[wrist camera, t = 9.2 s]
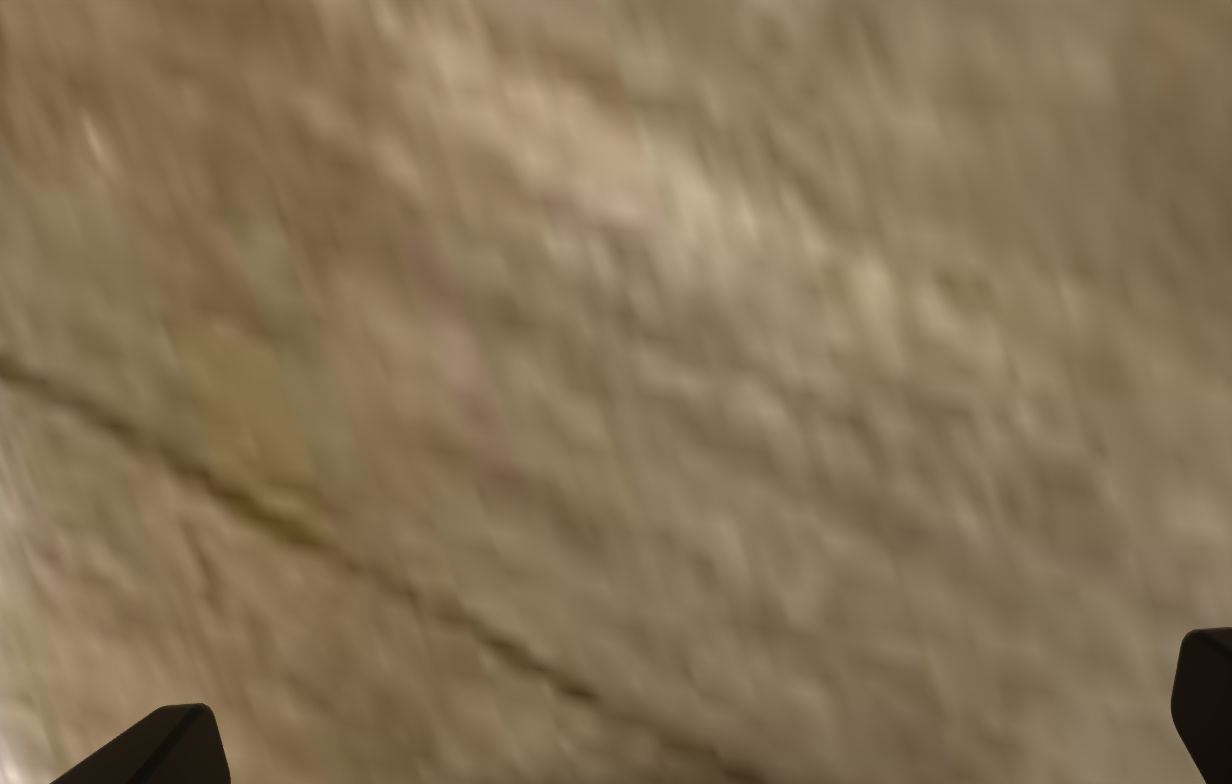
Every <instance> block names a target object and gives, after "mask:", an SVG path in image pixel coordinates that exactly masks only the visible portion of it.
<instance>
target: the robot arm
mask: <svg viewBox="0 0 1232 784" xmlns="http://www.w3.org/2000/svg"><path fill="white" fill-rule="evenodd" d="M1171 714H1172V718H1173V722H1174V724H1175V727H1176V729H1177V732H1178V734H1179V735H1180V737H1181V739H1182V741H1183V743H1184V744H1185V746H1186V748H1187V750H1188V751H1189V753H1190V755H1191V757H1192V759H1193V760H1194V762H1195V764H1196V766H1197V768H1198V769H1199V771H1200V773H1201V775H1202V776H1203V778H1204V780H1205V782H1206V784H1232V627H1222V628H1209V629H1196V630H1193V631H1191V632H1189V633H1187V634H1186V636H1185V637H1184V639H1183V640H1182V643H1181V647H1180V653H1179V658H1178V664H1177V669H1176V675H1175V680H1174V686H1173V691H1172V697H1171ZM50 784H231V778H230V771H229V767H228V763H227V760H226V756H225V752H224V749H223V745H222V741H221V737H220V734H219V730H218V726H217V723H216V719H215V716H214V714H213V712H212V710H211V709H210V707H208V706H207V705H205V704H203V703H195V704H181V705H168V706H163V707H160V708H158V709H156V710H155V711H153V712H152V713H150V714H149V715H148V716H146V717H145V718H143V719H142V720H140V721H139V722H137V723H136V724H135V725H133V726H132V727H130V728H129V729H127V730H126V731H125V732H123V733H122V734H120V735H119V736H117V737H116V738H115V739H113V740H112V741H110V742H109V743H107V744H106V745H105V746H103V747H102V748H100V749H99V750H97V751H96V752H94V753H93V754H92V755H90V756H89V757H87V758H86V759H84V760H83V761H82V762H80V763H79V764H77V765H76V766H74V767H73V768H72V769H70V770H69V771H67V772H66V773H64V774H63V775H61V776H60V777H59V778H57V779H56V780H54V781H53V782H51V783H50Z"/></svg>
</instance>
